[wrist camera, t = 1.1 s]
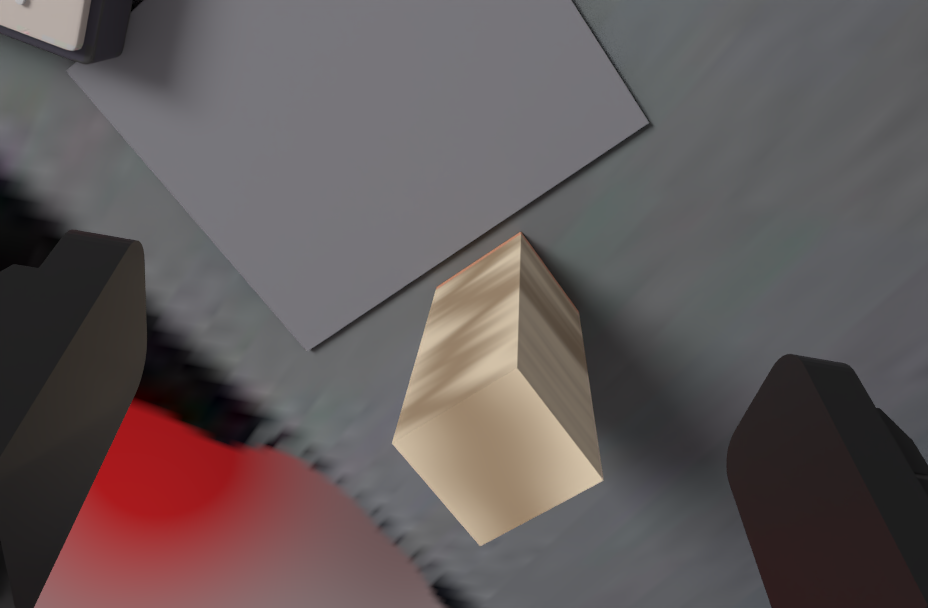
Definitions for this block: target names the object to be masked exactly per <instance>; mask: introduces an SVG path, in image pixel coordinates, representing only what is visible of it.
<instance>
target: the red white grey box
mask: <svg viewBox="0 0 928 608" xmlns="http://www.w3.org/2000/svg"><path fill="white" fill-rule="evenodd" d="M132 2H133V0H0V33H1V34H4V35H6V36H9V37H12V38H14V39H17V40H20V41H22V42H25V43H28V44H30V45H33V46H36V47H38V48H41V49H44V50H46V51H49V52H52V53H54V54H57V55H60V56H62V57H65V58H68V59H70V60H73V61H76V62H78V63H81V64H92V63H96V62H100V61H104V60H108V59H112V58H116V57H118V56H120V55H121V54H122V51H123V48H124V43H125V38H126V33H127V28H128V23H129V17H130V12H131V7H132Z"/></svg>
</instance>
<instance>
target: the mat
mask: <svg viewBox="0 0 928 608" xmlns="http://www.w3.org/2000/svg"><path fill="white" fill-rule="evenodd" d="M66 72H67V73H68V74H69V75H70V76H71V78H72V79H73V80H74V81H75V82H76V83H77V84H78V86H79V87H80V88H81V89H82V90H83V91H84V93H85V94H86V95H87V96H88V97H89V98H90V100H91V101H92V102H93V103H94V104H95V105H96V107H97V108H98V109H99V110H100V111H101V112H102V114H103V115H104V116H105V117H106V118H107V119H108V121H109V122H110V123H111V124H112V125H113V126H114V128H115V129H116V130H117V131H118V132H119V133H120V135H121V136H122V137H123V138H124V139H125V140H126V141H127V143H128V144H129V145H130V146H131V147H132V148H133V150H134V151H135V152H136V153H137V154H138V155H139V157H140V158H141V159H142V160H143V161H144V162H145V164H146V165H147V166H148V167H149V168H150V169H151V171H152V172H153V173H154V174H155V175H156V176H157V178H158V179H159V180H160V181H161V182H162V183H163V185H164V186H165V187H166V188H167V189H168V190H169V192H170V193H171V194H172V195H173V196H174V197H175V199H176V200H177V201H178V202H179V203H180V204H181V205H182V207H183V208H184V209H185V210H186V211H187V212H188V214H189V215H190V216H191V217H192V218H193V219H194V221H195V222H196V223H197V224H198V225H199V226H200V228H201V229H202V230H203V231H204V232H205V233H206V235H207V236H208V237H209V238H210V239H211V240H212V242H213V243H214V244H215V245H216V246H217V247H218V249H219V250H220V251H221V252H222V253H223V254H224V256H225V257H226V258H227V259H228V260H229V261H230V262H231V264H232V265H233V266H234V267H235V268H236V269H237V271H238V272H239V273H240V274H241V275H242V276H243V278H244V279H245V280H246V281H247V282H248V283H249V285H250V286H251V287H252V288H253V289H254V290H255V292H256V293H257V294H258V295H259V296H260V297H261V299H262V300H263V301H264V302H265V303H266V304H267V306H268V307H269V308H270V309H271V310H272V311H273V313H274V314H275V315H276V316H277V317H278V318H279V319H280V321H281V322H282V323H283V324H284V325H285V326H286V328H287V329H288V330H289V331H290V332H291V333H292V335H293V336H294V337H295V338H296V339H297V340H298V342H299V343H300V344H301V345H302V346H303V347H304V349H305V350H306V351H309V350H310V349H312V348H313V347H315V346H316V345H318V344H319V343H321V342H322V341H324V340H325V339H327V338H328V337H330V336H331V335H333V334H334V333H336V332H337V331H339V330H340V329H342V328H343V327H345V326H346V325H348V324H349V323H351V322H352V321H354V320H355V319H357V318H358V317H360V316H361V315H363V314H364V313H366V312H367V311H369V310H370V309H372V308H373V307H375V306H376V305H378V304H379V303H381V302H382V301H384V300H385V299H387V298H388V297H390V296H391V295H393V294H394V293H396V292H397V291H399V290H400V289H402V288H403V287H404V286H406V285H407V284H409V283H410V282H412V281H413V280H415V279H416V278H418V277H419V276H421V275H422V274H424V273H425V272H427V271H428V270H430V269H431V268H433V267H434V266H436V265H437V264H439V263H440V262H442V261H443V260H445V259H446V258H448V257H449V256H451V255H452V254H454V253H455V252H457V251H458V250H460V249H461V248H463V247H464V246H466V245H467V244H469V243H470V242H472V241H473V240H475V239H476V238H478V237H479V236H481V235H482V234H484V233H485V232H487V231H488V230H490V229H491V228H493V227H494V226H496V225H497V224H499V223H500V222H502V221H503V220H505V219H506V218H508V217H509V216H511V215H512V214H514V213H515V212H517V211H518V210H520V209H521V208H523V207H524V206H526V205H527V204H529V203H530V202H532V201H533V200H534V199H536V198H537V197H539V196H540V195H542V194H543V193H545V192H546V191H548V190H549V189H551V188H552V187H554V186H555V185H557V184H558V183H560V182H561V181H563V180H564V179H566V178H567V177H569V176H570V175H572V174H573V173H575V172H576V171H578V170H579V169H581V168H582V167H584V166H585V165H587V164H588V163H590V162H591V161H593V160H594V159H596V158H597V157H599V156H600V155H602V154H603V153H605V152H606V151H608V150H609V149H611V148H612V147H614V146H615V145H617V144H618V143H620V142H621V141H623V140H624V139H626V138H627V137H629V136H630V135H632V134H633V133H635V132H636V131H638V130H639V129H641V128H642V127H644V126H645V125H647V124H648V123H649V122H648V120H647V118H646V117H645V115H644V114H643V112H642V111H641V109H640V107H639V106H638V104H637V103H636V101H635V99H634V98H633V96H632V95H631V93H630V92H629V90H628V88H627V87H626V85H625V84H624V82H623V81H622V79H621V77H620V76H619V74H618V73H617V71H616V70H615V68H614V66H613V65H612V63H611V62H610V60H609V59H608V57H607V55H606V54H605V52H604V51H603V49H602V48H601V46H600V44H599V43H598V41H597V40H596V38H595V37H594V35H593V33H592V32H591V30H590V29H589V27H588V26H587V24H586V22H585V21H584V19H583V18H582V16H581V15H580V13H579V11H578V10H577V8H576V7H575V5H574V3H573V2H572V0H144V1H143V2H142V3H140V4H139V5H138V6H137V7H136V8H135V9H134V10H133V11H132V12H130V17H129V23H128V28H127V33H126V38H125V43H124V48H123V51H122V54H121V55H120V56H118V57H116V58H112V59H108V60H104V61H100V62H96V63H92V64H81V63H78V62H75V63H74V64H73V65H72V66H71V67H70V68H69V69H67V70H66Z"/></svg>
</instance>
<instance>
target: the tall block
mask: <svg viewBox="0 0 928 608" xmlns="http://www.w3.org/2000/svg"><path fill="white" fill-rule="evenodd" d="M392 444H393V445H394V446H395V447H396V448H397V450H398V451H399V452H400V453H401V454H402V455H403V457H404V458H405V459H406V460H407V461H408V462H409V464H410V465H411V466H412V467H413V468H414V469H415V471H416V472H417V473H418V474H419V475H420V476H421V478H422V479H423V480H424V481H425V482H426V483H427V485H428V486H429V487H430V488H431V489H432V491H433V492H434V493H435V494H436V495H437V496H438V498H439V499H440V500H441V501H442V502H443V503H444V505H445V506H446V507H447V508H448V509H449V510H450V512H451V513H452V514H453V515H454V516H455V517H456V519H457V520H458V521H459V522H460V523H461V524H462V526H463V527H464V528H465V529H466V530H467V531H468V533H469V534H470V535H471V536H472V537H473V538H474V540H475V541H476V542H477V543H478V544H479V545H480V546H482V545H483V544H485V543H487V542H489V541H491V540H493V539H495V538H497V537H498V536H500V535H502V534H504V533H506V532H508V531H510V530H512V529H513V528H515V527H517V526H519V525H521V524H523V523H525V522H527V521H528V520H530V519H532V518H534V517H536V516H538V515H540V514H542V513H543V512H545V511H547V510H549V509H551V508H553V507H555V506H557V505H558V504H560V503H562V502H564V501H566V500H568V499H570V498H571V497H573V496H575V495H577V494H579V493H581V492H583V491H585V490H586V489H588V488H590V487H592V486H594V485H596V484H598V483H600V482H601V481H603V473H602V466H601V459H600V452H599V445H598V439H597V432H596V425H595V418H594V411H593V404H592V398H591V391H590V384H589V377H588V370H587V363H586V357H585V350H584V343H583V336H582V329H581V322H580V316H579V311H578V310H577V308H576V307H575V306H574V304H573V303H572V301H571V300H570V299H569V297H568V296H567V295H566V293H565V292H564V290H563V289H562V288H561V286H560V285H559V283H558V282H557V281H556V279H555V278H554V277H553V275H552V274H551V272H550V271H549V270H548V268H547V267H546V265H545V264H544V263H543V261H542V260H541V259H540V257H539V256H538V254H537V253H536V252H535V250H534V249H533V247H532V246H531V245H530V243H529V242H528V240H527V239H526V238H525V236H524V235H523V234H522V232H519V233H518V234H516V235H515V236H513V237H512V238H510V239H509V240H507V241H506V242H504V243H503V244H501V245H500V246H498V247H497V248H495V249H494V250H492V251H491V252H489V253H488V254H486V255H485V256H483V257H482V258H480V259H478V260H477V261H475V262H474V263H472V264H471V265H469V266H468V267H466V268H465V269H463V270H462V271H460V272H459V273H457V274H456V275H454V276H453V277H451V278H450V279H448V280H447V281H445V282H444V283H442V284H441V285H439V286H438V287H437V288H436V291H435V295H434V298H433V302H432V305H431V309H430V312H429V316H428V319H427V323H426V326H425V330H424V333H423V337H422V340H421V344H420V347H419V351H418V354H417V358H416V361H415V365H414V368H413V372H412V375H411V379H410V382H409V386H408V389H407V393H406V396H405V400H404V403H403V407H402V410H401V414H400V417H399V420H398V424H397V427H396V431H395V434H394V438H393V441H392Z"/></svg>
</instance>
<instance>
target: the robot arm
mask: <svg viewBox="0 0 928 608" xmlns="http://www.w3.org/2000/svg"><path fill="white" fill-rule="evenodd" d="M146 349H147V325H146V294H145V263H144V251H143V247H142V244H141V243H140V242H139V241H137V240H131V239H125V238H119V237H113V236H107V235H101V234H96V233H90V232H84V231H78V230H70V231H68V232H67V233H65V235H64V236H63V237H62V238H61V240H60V241H59V242H58V244H57V245H56V246H55V248H54V249H53V250H52V252H51V253H50V254H49V256H48V257H47V258H46V260H45V261H44V262H43V264H42V265H41V266H40V268H33V267H27V266H21V265H15V264H13V265H12V266H10V267H8V268H6V269H5V270H3V271H1V272H0V608H34V606H35V604H36V602H37V599H38V598H39V595H40V593H41V591H42V589H43V587H44V585H45V583H46V581H47V579H48V577H49V575H50V572H51V570H52V568H53V566H54V564H55V562H56V560H57V558H58V555H59V553H60V551H61V549H62V547H63V545H64V543H65V541H66V539H67V537H68V534H69V532H70V530H71V528H72V526H73V524H74V522H75V520H76V517H77V515H78V513H79V511H80V509H81V507H82V505H83V503H84V501H85V499H86V497H87V494H88V492H89V490H90V488H91V486H92V484H93V482H94V480H95V478H96V475H97V473H98V471H99V469H100V467H101V465H102V463H103V461H104V459H105V456H106V454H107V452H108V450H109V448H110V446H111V444H112V442H113V440H114V438H115V435H116V433H117V431H118V429H119V427H120V425H121V423H122V421H123V418H124V417H125V414H126V412H127V410H128V408H129V406H130V404H131V402H132V400H133V398H134V395H135V393H136V391H137V389H138V386H139V383H140V380H141V376H142V373H143V368H144V364H145V358H146ZM727 476H728V480H729V484H730V487H731V490H732V493H733V496H734V499H735V502H736V505H737V507H738V510H739V513H740V516H741V519H742V522H743V525H744V528H745V531H746V534H747V537H748V540H749V543H750V546H751V549H752V551H753V554H754V557H755V560H756V563H757V566H758V569H759V572H760V575H761V578H762V581H763V584H764V587H765V590H766V593H767V595H768V598H769V601H770V604H771V607H772V608H928V465H927V463H926V462H925V460H924V458H923V457H922V455H921V453H920V452H919V450H918V448H917V447H916V445H915V444H914V442H913V440H912V439H911V438H909V437H908V436H907V435H906V434H905V433H904V432H903V431H902V430H901V429H900V428H899V427H898V426H897V425H896V424H895V423H894V422H893V421H892V420H891V419H890V418H889V417H888V416H887V415H886V414H885V413H884V412H883V411H882V410H881V409H880V408H876V407H875V405H874V404H873V402H872V400H871V398H870V397H869V395H868V393H867V392H866V390H865V388H864V387H863V385H862V383H861V381H860V380H859V378H858V376H857V375H856V373H855V372H854V370H853V369H852V368H851V367H850V366H849V365H847V364H845V363H840V362H834V361H828V360H822V359H816V358H810V357H805V356H799V355H793V354H787V355H784V356H782V357H781V358H780V359H779V360H778V361H777V362H776V363H775V364H774V366H773V367H772V369H771V371H770V372H769V374H768V376H767V377H766V379H765V381H764V382H763V384H762V386H761V388H760V389H759V391H758V393H757V394H756V396H755V398H754V399H753V401H752V403H751V404H750V406H749V408H748V410H747V411H746V413H745V415H744V416H743V418H742V420H741V421H740V423H739V425H738V426H737V428H736V430H735V432H734V433H733V435H732V438H731V440H730V444H729V447H728V453H727Z"/></svg>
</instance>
